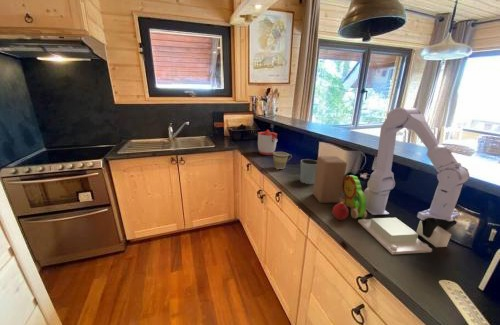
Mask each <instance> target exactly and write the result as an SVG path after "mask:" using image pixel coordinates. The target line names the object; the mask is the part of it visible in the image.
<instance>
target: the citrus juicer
mask: <svg viewBox="0 0 500 325" xmlns="http://www.w3.org/2000/svg"><path fill="white" fill-rule="evenodd" d="M277 142H278V133H276V132H274V131H272V132H271V131H270V129H266V130H264V131H259V132H257V150H258V153H259V154H260V155H263V156H271V155H272V156H273V153H274V152H276V148H277Z"/></svg>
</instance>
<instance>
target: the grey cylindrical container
mask: <svg viewBox="0 0 500 325" xmlns="http://www.w3.org/2000/svg"><path fill="white" fill-rule="evenodd" d="M316 167H317V159H316V160H315V159H311V158H310V159H309V158H305V159H301V160H300V172H299V173H300V177H299V180H300V181H299V182H301V183H302V184H304V183H305V184H306V185H314V181H315V174H316Z"/></svg>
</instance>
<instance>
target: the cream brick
mask: <svg viewBox="0 0 500 325" xmlns="http://www.w3.org/2000/svg"><path fill="white" fill-rule="evenodd" d="M415 232H416V233H418V236H420V237H422V238H423V239H424V240H426V241H427V242H428V243H430V244H431V245H433V246H434V247H435V248H445V247H446V248H447V247H448V244H449V241H450V239H451V236H452V234H451V232H449V231H448V230H447V231H446V230H444V229H442V228H441V227H439V226H437V227H436V228H435V229H434V231H433V233H432V235H431V237H430V238H427V237H426V236H424V235H423V226H422V222H421V220H419V222H418V226H417V229H416V231H415Z"/></svg>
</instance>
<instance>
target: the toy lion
mask: <svg viewBox="0 0 500 325" xmlns="http://www.w3.org/2000/svg"><path fill="white" fill-rule="evenodd" d="M363 192H364V190H362V185H361V180H360V179H359V177H358V176H356V175H353V174H350V175H345V176H344V182H343V187H342V193H343V197H341V198H340V199H339V202H338V204H339V203H340V202H343V203H344V204H345V205H346V206H347V207H349V208H350V216H351V218H353V219H358V218H361V219H367V217H368V211H367V210H366V197H365V194H364V193H363Z"/></svg>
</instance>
